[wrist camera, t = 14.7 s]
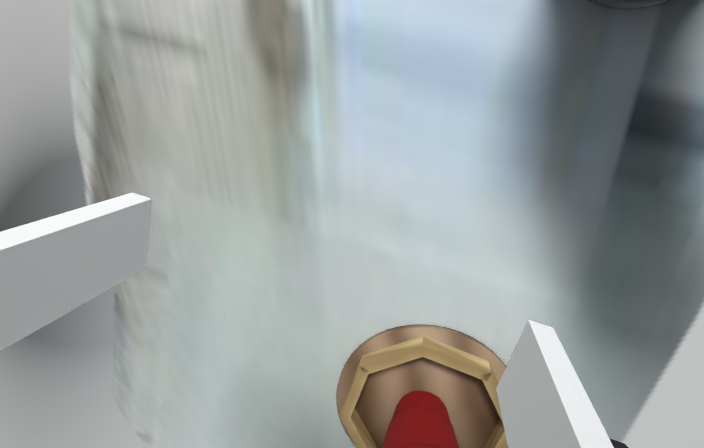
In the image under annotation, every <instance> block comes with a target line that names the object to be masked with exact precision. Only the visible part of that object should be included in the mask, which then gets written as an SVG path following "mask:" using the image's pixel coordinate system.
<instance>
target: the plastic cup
mask: <svg viewBox="0 0 704 448" xmlns="http://www.w3.org/2000/svg"><path fill="white" fill-rule="evenodd" d="M381 448H459V445H458V442H457V439H456V435H455V432H454V429H453V426H452V424H451V422H450V418H449V414H448V411H447V408H446V407H445V404H444V403H443V402H442V400H441V399H440V398H439V397H438V396H436V395H434V394H432V393H431V392H426V391H421V390H419V391H412V392H409V393H407V394H406V395H404V396H403V397H402V398H401V400H400V401H399V402H398V404H397V405H396V408H395V411H394V414H393V417H392V420H391V421H390V423H389V426H388V429H387V432H386V435H385V438H384V441H383V444H382V447H381Z"/></svg>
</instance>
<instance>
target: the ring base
mask: <svg viewBox="0 0 704 448" xmlns="http://www.w3.org/2000/svg"><path fill="white" fill-rule="evenodd" d="M505 369H506V366H505V364H504V363H503V362H502V360H501V359H500V358H499V357H498V356H497V355H496V354H495V353H494V352H493V351H492V350H490V349H489V348H488V347H486V346H485V345H484V344H483V343H481V342H479V341H478V340H476V339H474V338H473V337H470V336H468V335H466V334H464V333H462V332H459V331H456V330H453V329H450V328H445V327H440V326H435V325H407V326H400V327H396V328H392V329H389V330H386V331H383V332H381V333H379V334H376V335H375V336H373V337H371V338H370V339H368V340H366V341H365V342H364V343H363V344H361V345H360V346H359V347H358V348H357V349H356V350H355V351H354V352H353V353H352V354H351V356H350V357H349V359H348V360H347V362H346V364H345V366H344V368H343V370H342V373H341V376H340V379H339V383H338V387H337V409H338V414H339V417H340V420H341V423H342V425H343V427H344V429H345V431H346V433H347V435H348V436H349V438H350V439H351V441H352V442H353V443H354V444H355V445H356V447H357V448H381V447H382V444H383V441H384V438H385V435H386V432H387V429H388V426H389V423H390V421H391V420H392V417H393V414H394V411H395V408H396V405H397V404H398V402H399V401H400V400H401V398H402V397H403V396H404V395H406V394H407V393H409V392H412V391H419V390H421V391H426V392H431V393H432V394H434V395H436V396H438V397H439V398H440V399H441V400H442V402H443V403H444V404H445V407H446V408H447V411H448V414H449V418H450V422H451V424H452V426H453V429H454V432H455V435H456V439H457V442H458V445H459V448H508V445H507V440H506V435H505V430H504V425H503V420H502V415H501V410H500V405H499V400H498V395H497V390H496V388H497V386H498V384H499V381H500V379H501V377H502V375H503V373H504V371H505Z"/></svg>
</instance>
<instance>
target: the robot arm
mask: <svg viewBox="0 0 704 448" xmlns="http://www.w3.org/2000/svg"><path fill="white" fill-rule="evenodd" d="M590 1H592V2H594V3H597V4H600V5H603V6H608V7H613V8H624V9H630V8H642V7H648V6H652V5H656V4H660V3H663V2H666V1H668V0H590ZM151 202H152V199H150V198H147V197H144V196H141V195H138V194H135V193H129V194H126V195H123V196H119V197H116V198H113V199H109V200H106V201H103V202H99V203H96V204H92V205H89V206H86V207H82V208H79V209H76V210H72V211H69V212H66V213H63V214H59V215H55V216H52V217H49V218H45V219H42V220H39V221H35V222H32V223H29V224H25V225H22V226H19V227H15V228H12V229H8V230H5V231H2V232H0V351H2V350H3V349H5V348H7V347H9V346H10V345H12V344H14V343H16V342H17V341H19V340H21V339H22V338H24V337H26V336H28V335H30V334H31V333H33V332H35V331H37V330H38V329H40V328H42V327H44V326H45V325H47V324H49V323H51V322H52V321H54V320H56V319H58V318H59V317H61V316H63V315H65V314H66V313H68V312H70V311H72V310H73V309H75V308H77V307H79V306H80V305H82V304H84V303H86V302H87V301H89V300H91V299H93V298H95V297H96V296H98V295H100V294H102V293H103V292H105V291H107V290H108V289H110V288H112V287H114V286H116V285H117V284H119V283H121V282H123V281H124V280H126V279H128V278H130V277H131V276H133V275H135V274H137V273H138V272H140V271H142V270H144V269H146V264H147V251H148V239H149V226H150V214H151ZM496 390H497V395H498V400H499V405H500V410H501V415H502V420H503V425H504V430H505V435H506V440H507V445H508V448H628V447H627V446H626V445H625V444H624V443H621V442H618V441H615V440H612V439H609V437H608V435H607V433H606V431H605V429H604V427H603V425H602V423H601V421H600V419H599V417H598V415H597V413H596V411H595V409H594V407H593V405H592V403H591V401H590V399H589V397H588V396H587V394H586V392H585V390H584V388H583V386H582V384H581V382H580V380H579V378H578V376H577V374H576V372H575V370H574V368H573V366H572V364H571V362H570V360H569V358H568V356H567V354H566V352H565V350H564V348H563V346H562V344H561V342H560V340H559V338H558V336H557V334H556V332H555V330H554V328H553V327H549V326H546V325H543V324H540V323H537V322H534V321H531V320H528V321H527V323H526V326H525V328H524V330H523V332H522V334H521V336H520V339H519V341H518V343H517V345H516V347H515V349H514V351H513V354H512V356H511V358H510V360H509V362H508V364H507V366H506V369H505V371H504V373H503V375H502V377H501V379H500V381H499V384H498V386H497V388H496Z"/></svg>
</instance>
